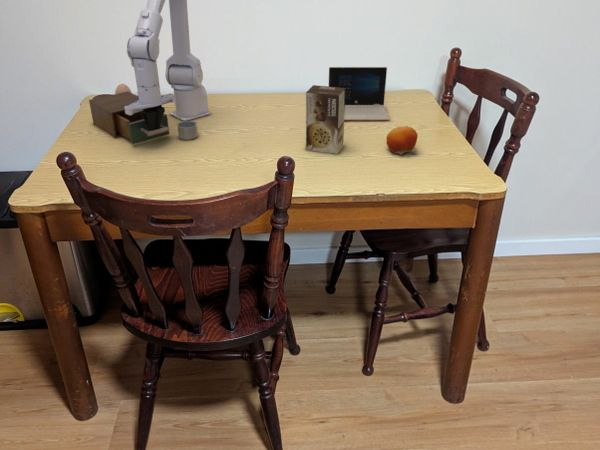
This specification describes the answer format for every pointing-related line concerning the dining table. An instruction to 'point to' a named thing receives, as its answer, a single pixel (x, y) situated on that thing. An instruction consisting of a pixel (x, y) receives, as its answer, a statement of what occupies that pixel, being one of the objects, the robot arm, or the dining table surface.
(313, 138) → the cookie box
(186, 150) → the dining table surface
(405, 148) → the fruit
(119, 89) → the egg
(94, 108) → the cabinet
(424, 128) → the dining table surface
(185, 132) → the grey plastic pail
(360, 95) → the laptop
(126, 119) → the drawer
